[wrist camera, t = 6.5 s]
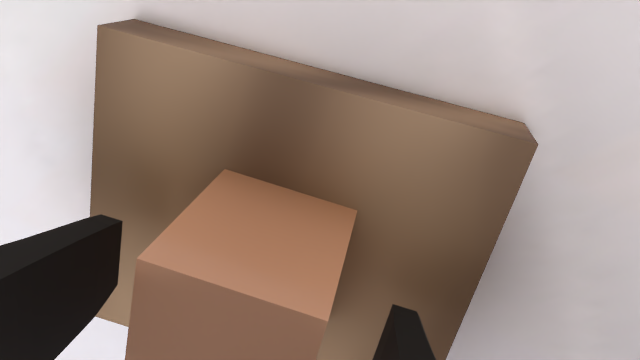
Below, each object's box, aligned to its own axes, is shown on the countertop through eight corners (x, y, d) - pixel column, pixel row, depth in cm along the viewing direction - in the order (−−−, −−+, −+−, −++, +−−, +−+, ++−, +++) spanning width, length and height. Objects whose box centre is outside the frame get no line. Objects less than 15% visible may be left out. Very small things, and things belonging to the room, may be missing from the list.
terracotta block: (357, 210, 14) (328, 321, 10) (322, 318, 16) (284, 456, 12) (224, 168, 15) (136, 258, 10) (204, 279, 16) (120, 399, 12)
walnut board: (520, 118, 15) (538, 144, 13) (419, 366, 19) (419, 419, 17) (143, 17, 16) (97, 25, 14) (124, 274, 20) (86, 313, 18)
